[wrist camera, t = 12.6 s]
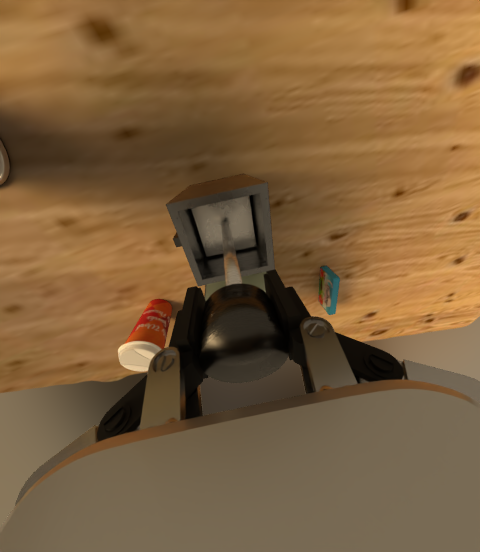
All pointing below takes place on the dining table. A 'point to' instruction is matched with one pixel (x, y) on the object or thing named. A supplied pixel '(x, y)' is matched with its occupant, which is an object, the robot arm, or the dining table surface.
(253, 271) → the box
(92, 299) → the dining table surface
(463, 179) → the dining table surface
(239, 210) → the charcoal plunger
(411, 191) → the dining table surface
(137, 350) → the coffee cup
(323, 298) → the blue cardboard box
